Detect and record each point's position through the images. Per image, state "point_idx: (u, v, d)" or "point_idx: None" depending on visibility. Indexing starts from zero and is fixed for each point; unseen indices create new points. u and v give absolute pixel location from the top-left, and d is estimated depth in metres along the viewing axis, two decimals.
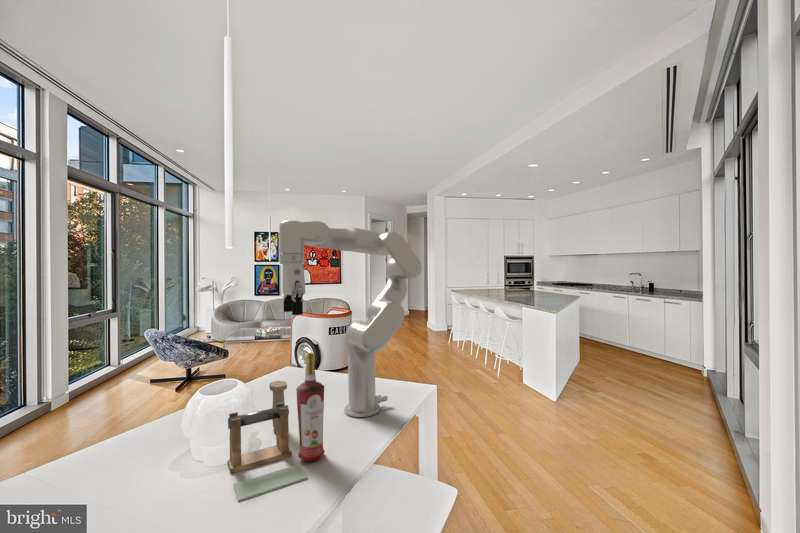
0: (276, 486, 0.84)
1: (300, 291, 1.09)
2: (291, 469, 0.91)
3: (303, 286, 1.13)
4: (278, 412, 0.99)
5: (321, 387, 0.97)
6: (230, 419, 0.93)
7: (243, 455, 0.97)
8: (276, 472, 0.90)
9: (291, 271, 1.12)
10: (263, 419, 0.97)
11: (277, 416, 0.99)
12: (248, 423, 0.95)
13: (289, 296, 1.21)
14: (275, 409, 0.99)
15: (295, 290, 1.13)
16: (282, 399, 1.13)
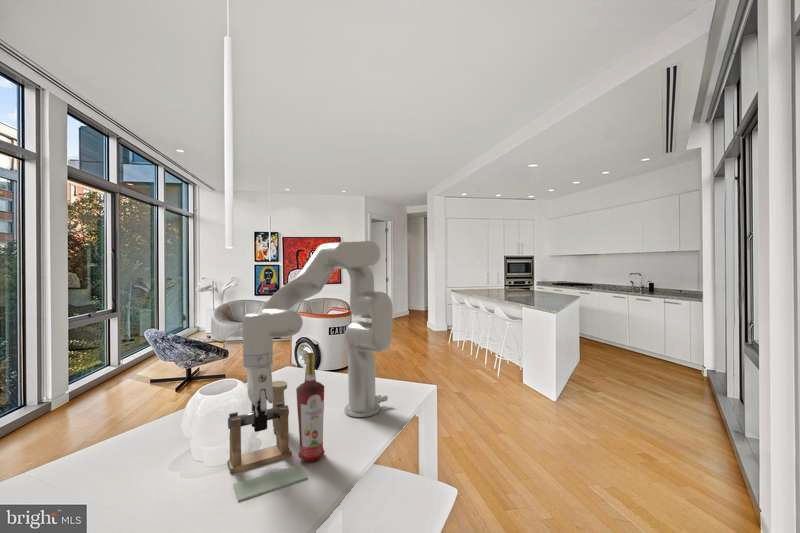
0: (276, 486, 0.84)
1: (263, 411, 0.92)
2: (291, 469, 0.91)
3: (270, 394, 0.94)
4: (278, 412, 0.99)
5: (321, 387, 0.97)
6: (230, 419, 0.93)
7: (243, 455, 0.97)
8: (276, 472, 0.90)
9: (255, 378, 0.93)
10: None
11: (277, 416, 0.99)
12: (248, 423, 0.95)
13: None
14: (275, 409, 0.99)
15: None
16: (282, 399, 1.13)
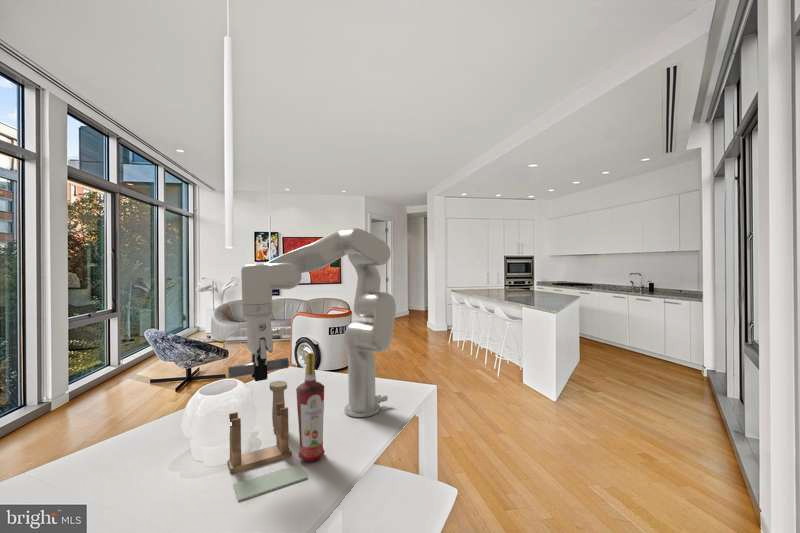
0: (276, 486, 0.84)
1: (263, 359, 0.93)
2: (291, 469, 0.91)
3: (270, 343, 0.94)
4: (278, 363, 0.99)
5: (321, 387, 0.97)
6: (230, 368, 0.93)
7: (243, 455, 0.97)
8: (276, 472, 0.90)
9: (255, 327, 0.93)
10: None
11: (277, 367, 0.99)
12: (248, 373, 0.95)
13: (258, 357, 1.00)
14: (275, 360, 0.99)
15: (260, 349, 0.96)
16: (282, 399, 1.13)
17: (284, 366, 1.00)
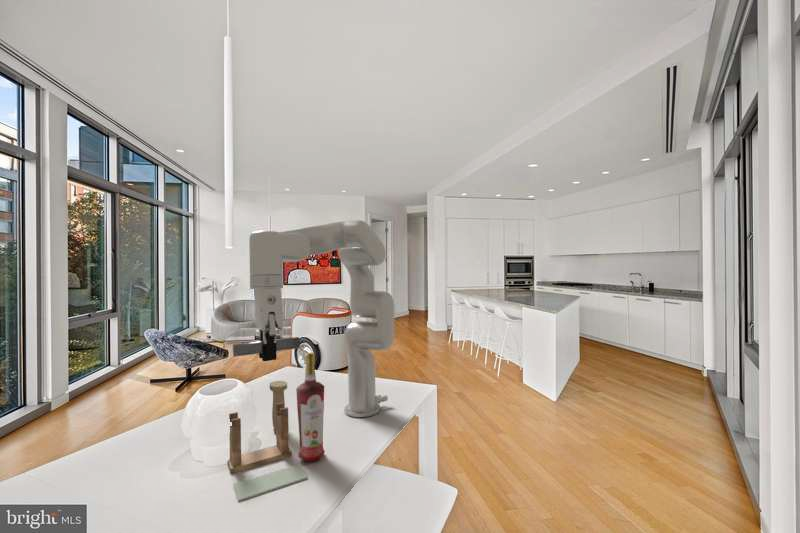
0: (276, 486, 0.84)
1: (272, 336, 0.83)
2: (291, 469, 0.91)
3: (280, 319, 0.84)
4: (288, 342, 0.89)
5: (321, 387, 0.97)
6: (235, 345, 0.83)
7: (243, 455, 0.97)
8: (276, 472, 0.90)
9: (264, 299, 0.83)
10: None
11: (287, 347, 0.89)
12: (255, 351, 0.85)
13: None
14: (285, 339, 0.89)
15: (269, 326, 0.86)
16: (282, 399, 1.13)
17: (295, 346, 0.90)
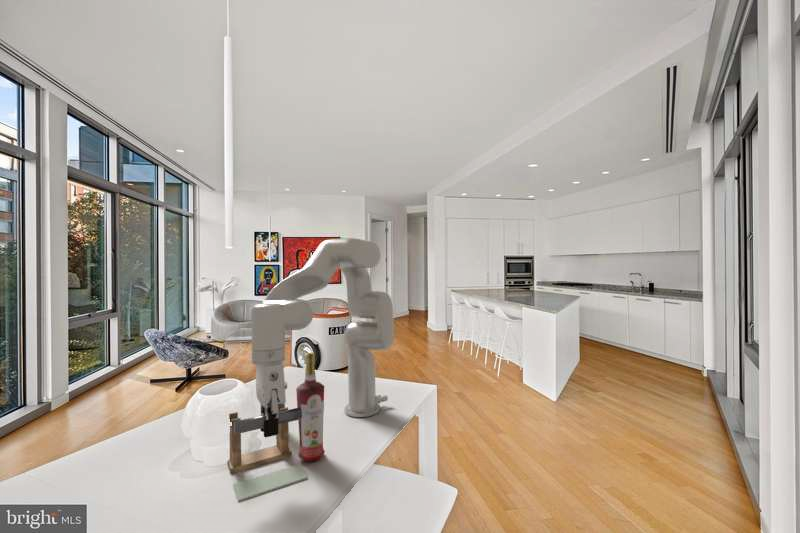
0: (276, 486, 0.84)
1: (274, 413, 0.82)
2: (291, 469, 0.91)
3: (282, 395, 0.83)
4: (290, 415, 0.88)
5: (321, 387, 0.97)
6: (237, 423, 0.82)
7: (243, 455, 0.97)
8: (276, 472, 0.90)
9: (266, 376, 0.82)
10: None
11: (289, 420, 0.88)
12: (257, 427, 0.84)
13: None
14: (287, 412, 0.88)
15: None
16: None
17: (297, 418, 0.89)
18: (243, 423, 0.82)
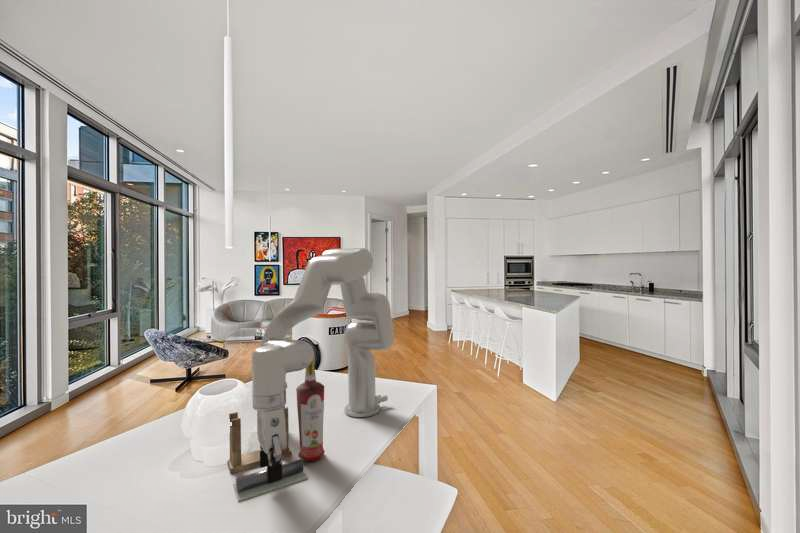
0: (276, 486, 0.84)
1: (278, 457, 0.80)
2: None
3: (284, 440, 0.83)
4: (292, 469, 0.88)
5: (321, 387, 0.97)
6: (239, 481, 0.82)
7: (243, 455, 0.97)
8: None
9: (267, 422, 0.82)
10: None
11: (291, 473, 0.88)
12: (259, 484, 0.84)
13: None
14: (288, 465, 0.88)
15: (273, 445, 0.84)
16: None
17: (298, 471, 0.89)
18: (245, 480, 0.83)
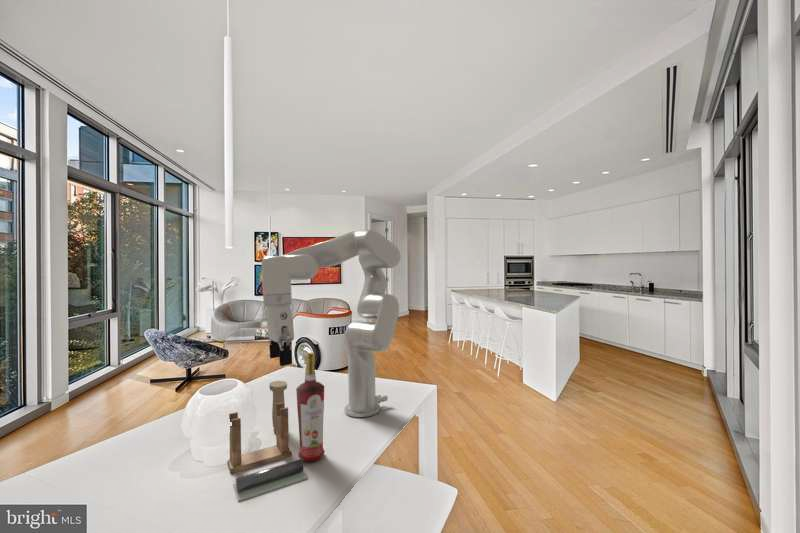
0: (276, 486, 0.84)
1: (288, 340, 0.95)
2: None
3: (291, 332, 0.98)
4: (292, 468, 0.88)
5: (321, 387, 0.97)
6: (239, 480, 0.82)
7: (243, 455, 0.97)
8: None
9: (277, 316, 0.97)
10: (275, 478, 0.86)
11: (291, 473, 0.88)
12: (259, 484, 0.84)
13: None
14: (288, 465, 0.88)
15: (282, 336, 0.99)
16: (282, 399, 1.13)
17: (298, 471, 0.89)
18: (245, 480, 0.83)
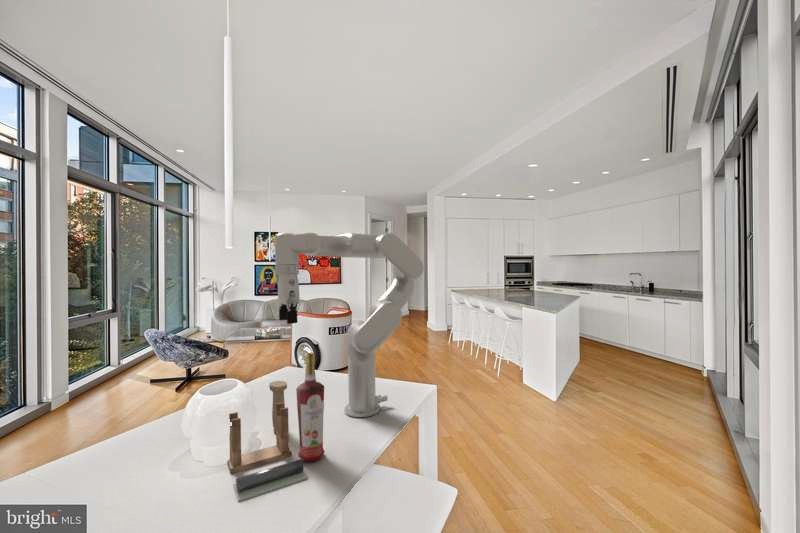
0: (276, 486, 0.84)
1: (294, 301, 1.14)
2: None
3: (297, 296, 1.18)
4: (292, 469, 0.88)
5: (321, 387, 0.97)
6: (239, 481, 0.82)
7: (243, 455, 0.97)
8: None
9: (286, 282, 1.17)
10: (275, 478, 0.86)
11: (291, 473, 0.88)
12: (259, 484, 0.84)
13: (284, 305, 1.26)
14: (288, 465, 0.88)
15: (290, 300, 1.19)
16: (282, 399, 1.13)
17: (298, 471, 0.89)
18: (245, 481, 0.83)
